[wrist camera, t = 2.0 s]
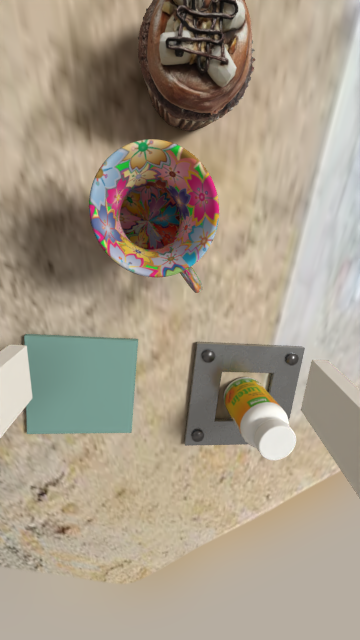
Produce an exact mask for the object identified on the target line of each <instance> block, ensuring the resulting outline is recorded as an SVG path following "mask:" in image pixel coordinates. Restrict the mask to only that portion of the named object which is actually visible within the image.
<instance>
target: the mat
mask: <svg viewBox="0 0 360 640" xmlns="http://www.w3.org/2000/svg"><path fill="white" fill-rule="evenodd" d="M24 340H25V345H27V353H28V362H29V371H30V380H31V389H32V399H31V401H30V402H29V403H28V404H27V406H26V414H27V434H58V433H131V431H132V417H133V403H134V389H135V375H136V361H137V347H138V339H125V338H103V337H81V336H59V335H37V334H26V335H25V336H24Z"/></svg>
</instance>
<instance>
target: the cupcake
mask: <svg viewBox="0 0 360 640" xmlns="http://www.w3.org/2000/svg"><path fill="white" fill-rule="evenodd" d="M138 39H139V49H138V57H139V62H140V64H141V69H142V74H143V77H144V80H145V82H146V85H147V87H148V91H149V95H150V98H151V101H152V102H153V106H154V107H155V109H156V111H157V112H158V113H159V114H160V116H161V117H162V118H164V120H165V121H166V122H167V123H168V124H169V125H172V126H175V127H180V128H181V129H184V130H187V131H192V130H196V129H198V128H201V127H205V126H206V125H208V124H210V123H212V122H214V121H216V120H218V119H219V118H221V117H223V116H224V115H225V114H226V113H227V112H229V111H231V110H232V109H233V107H234V106H236V105H237V104H238V103H239V102H238V101H239V100H240V99H243V95H244V92H245V89H246V88H247V87H248V82H249V81H250V80H251V77H250V75H251V73H252V72H253V70H254V67H253V66H252V63H253V62H254V61H255V58H253V57H252V56H251V54H252V53H253V52H254V49H252V43H253V40H252V29H251V20H250V15H249V12H248V9H247V6H246V3H245V0H153V2H152V3H151V5H150V6H149V8H148V9H146V13H145V16H144V17H143V22H142V25H141V28H140V33H139V37H138Z"/></svg>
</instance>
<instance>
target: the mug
mask: <svg viewBox="0 0 360 640" xmlns="http://www.w3.org/2000/svg"><path fill="white" fill-rule="evenodd" d="M89 213H90V220H91V224H92V228H93V231H94V233H95V236H96V238H97V240H98V242H99V243H100V245H101V247H102V248H103V250H104V251H105V252H106V253H107V254H108V256H109V257H110V258H111V259H112V260H114V261H115V262H116V263H117V264H118V265H120V266H121V267H123V268H125V269H126V270H128V271H130V272H133V273H135V274H138V275H142V276H147V277H166V276H171V275H174V274H177V273H180V274H181V275H182V276H183V278H184V279H185V281H186V282H187V283H188V285H189V286H190V287H191V288H192V290H193V291H194V292H195V293H198V292H200V291H201V290H202V289H203V287H202V284H201V282H200V280H199V278H198V277H197V275H196V273H195V272H194V270H193V268H192V267H191V266H192V265H194V264H195V263H196V262H197V261H198V260H199V259H200V258H201V257H202V256H203V255H204V254H205V252H206V251H207V249H208V248H209V246H210V245H211V243H212V241H213V238H214V236H215V233H216V230H217V225H218V219H219V202H218V196H217V192H216V188H215V186H214V183H213V181H212V179H211V176H210V175H209V173H208V171H207V170H206V168H205V167H204V166H203V164H202V163H201V162H200V161H199V160H198V159H197V158H196V157H195V156H194V155H193V154H191V153H190V152H189V151H187V150H186V149H184V148H183V147H181V146H179V145H176V144H174V143H171V142H168V141H163V140H155V139H148V140H140V141H136V142H133V143H130V144H127V145H125V146H123V147H121V148H120V149H118V150H117V151H115V152H114V153H113V154H112V155H111V156H110V157H108V158H107V160H106V161H105V162H104V163H103V164H102V166H101V167H100V169H99V171H98V172H97V174H96V176H95V179H94V181H93V184H92V187H91V192H90V199H89Z"/></svg>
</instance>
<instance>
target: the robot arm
mask: <svg viewBox="0 0 360 640" xmlns="http://www.w3.org/2000/svg"><path fill="white" fill-rule="evenodd" d="M31 399H32V389H31V380H30V371H29V362H28V353H27V345H8V346H7V347H6V348H4V349H3V350H2V351H0V438H1V437H2V435H3V434H4V433H5V432H6V430H7V429H8V428H9V427H10V425H11V424H12V423H13V422H14V420H15V419H16V418H17V417H18V416H19V414H20V413H21V412H22V411H23V409H24V408H25V407H26V406H27V404H28V403H29V402H30V401H31ZM301 411H302V412H303V414H304V415H305V417H306V418H307V420H308V421H309V423H310V424H311V426H312V427H313V429H314V430H315V432H316V433H317V435H318V436H319V438H320V439H321V441H322V442H323V444H324V445H325V447H326V448H327V450H328V451H329V453H330V454H331V456H332V457H333V459H334V460H335V462H336V463H337V465H338V466H339V468H340V469H341V471H342V472H343V474H344V475H345V477H346V478H347V480H348V482H349V483H350V484H351V486H352V487H353V489H354V491H355V492H356V494H357V495H358V497H359V498H360V389H359V388H358V387H357V386H356V385H355V384H353V383H352V382H351V381H350V380H349V379H348V378H347V377H346V376H345V375H344V374H342V373H341V372H340V371H339V370H338V369H337V368H336V367H335V366H334V365H333V364H332V363H330V362H329V361H328V360H312V362H311V367H310V371H309V375H308V380H307V384H306V389H305V393H304V398H303V402H302V407H301Z"/></svg>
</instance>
